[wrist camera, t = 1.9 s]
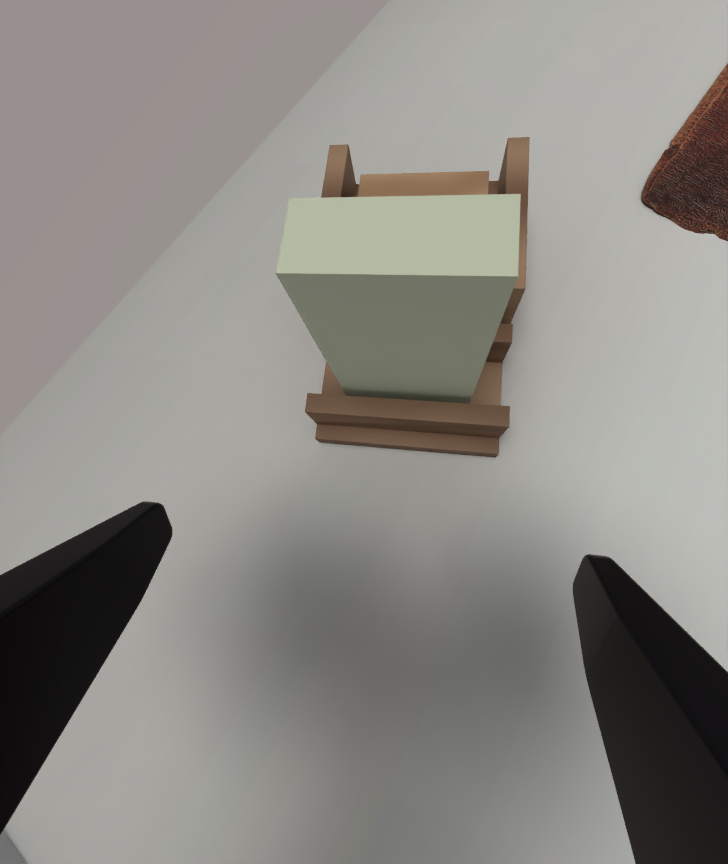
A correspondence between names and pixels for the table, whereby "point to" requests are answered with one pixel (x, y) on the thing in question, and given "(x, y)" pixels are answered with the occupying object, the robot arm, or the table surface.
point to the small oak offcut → (424, 184)
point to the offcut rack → (415, 419)
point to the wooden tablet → (696, 168)
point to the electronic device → (9, 851)
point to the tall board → (402, 287)
